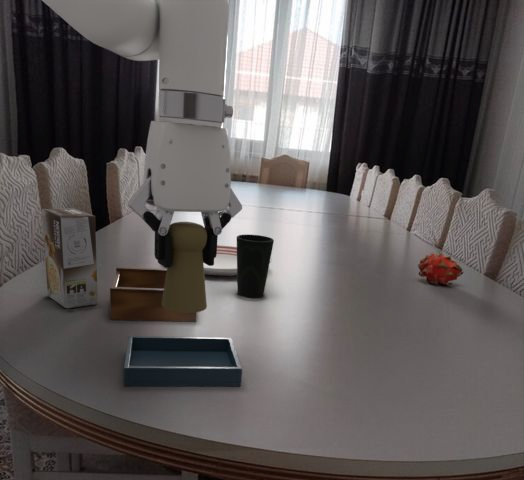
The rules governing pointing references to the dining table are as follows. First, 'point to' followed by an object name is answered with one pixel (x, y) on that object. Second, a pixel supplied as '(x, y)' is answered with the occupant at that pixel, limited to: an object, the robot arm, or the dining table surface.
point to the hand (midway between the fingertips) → (185, 262)
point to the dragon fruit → (439, 269)
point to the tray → (181, 362)
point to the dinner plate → (224, 262)
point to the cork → (186, 269)
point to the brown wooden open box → (142, 296)
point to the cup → (252, 264)
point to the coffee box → (70, 256)
